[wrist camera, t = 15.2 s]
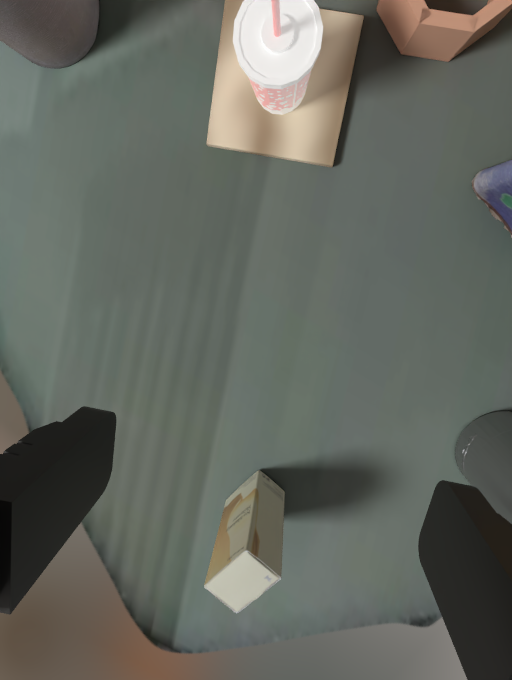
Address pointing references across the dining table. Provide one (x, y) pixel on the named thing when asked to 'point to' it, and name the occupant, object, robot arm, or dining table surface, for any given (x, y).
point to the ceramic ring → (437, 27)
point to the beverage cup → (278, 49)
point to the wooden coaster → (306, 119)
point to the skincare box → (248, 543)
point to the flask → (496, 191)
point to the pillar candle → (49, 29)
